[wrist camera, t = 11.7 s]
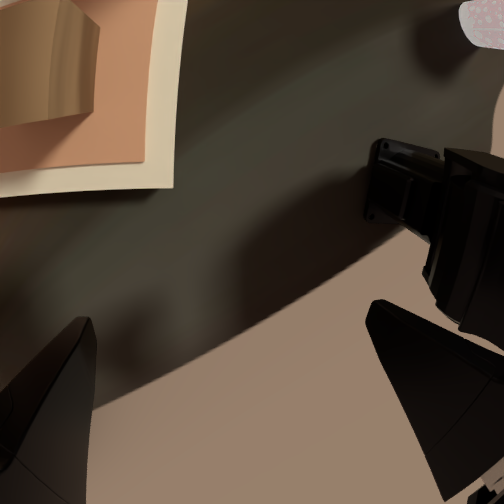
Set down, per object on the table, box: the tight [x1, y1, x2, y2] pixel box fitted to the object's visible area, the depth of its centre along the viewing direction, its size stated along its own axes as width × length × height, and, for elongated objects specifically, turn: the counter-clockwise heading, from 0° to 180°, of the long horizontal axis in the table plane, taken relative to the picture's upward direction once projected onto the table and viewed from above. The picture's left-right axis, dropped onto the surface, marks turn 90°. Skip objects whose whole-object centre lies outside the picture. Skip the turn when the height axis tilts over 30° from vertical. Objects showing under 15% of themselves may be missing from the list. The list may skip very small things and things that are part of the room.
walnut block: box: [0, 0, 100, 128], centre depth 9 cm, size 4×4×6 cm
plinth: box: [0, 0, 188, 198], centre depth 12 cm, size 13×13×3 cm
